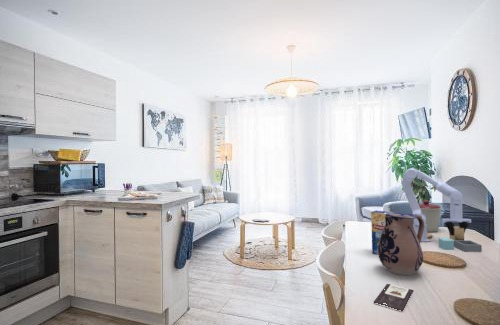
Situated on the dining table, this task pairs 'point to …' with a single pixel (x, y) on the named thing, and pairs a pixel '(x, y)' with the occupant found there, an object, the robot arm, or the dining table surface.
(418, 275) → the dining table surface
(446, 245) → the pale teal cube
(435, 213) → the canister
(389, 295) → the chocolate bar
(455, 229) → the wooden block
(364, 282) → the dining table surface
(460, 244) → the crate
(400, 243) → the ceramic pitcher
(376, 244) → the beverage box
